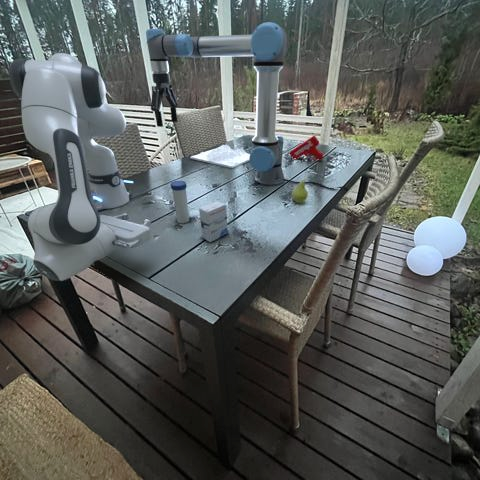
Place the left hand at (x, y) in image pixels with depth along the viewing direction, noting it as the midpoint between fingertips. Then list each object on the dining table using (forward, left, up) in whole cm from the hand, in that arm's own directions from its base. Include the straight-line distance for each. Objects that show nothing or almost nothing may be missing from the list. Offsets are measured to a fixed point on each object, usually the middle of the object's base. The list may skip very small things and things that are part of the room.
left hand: (137, 218), depth 85 cm
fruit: (+36, +59, -11) cm, 70 cm away
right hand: (-32, +58, +17) cm, 69 cm away
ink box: (+17, +17, -11) cm, 27 cm away
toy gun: (+22, +123, -11) cm, 125 cm away
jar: (0, +22, -11) cm, 24 cm away
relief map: (-28, +104, -11) cm, 108 cm away
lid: (0, +22, +4) cm, 22 cm away
